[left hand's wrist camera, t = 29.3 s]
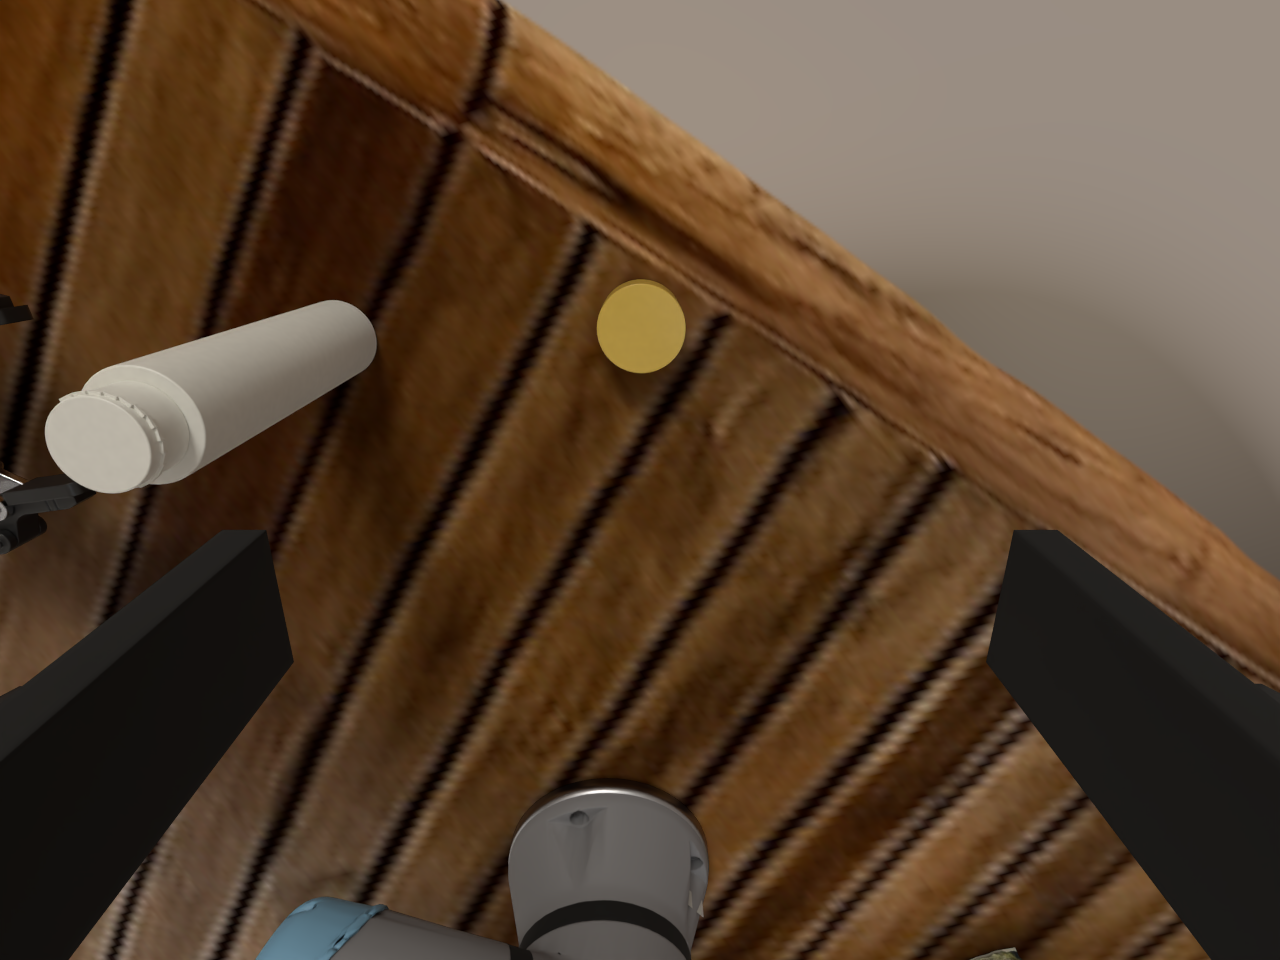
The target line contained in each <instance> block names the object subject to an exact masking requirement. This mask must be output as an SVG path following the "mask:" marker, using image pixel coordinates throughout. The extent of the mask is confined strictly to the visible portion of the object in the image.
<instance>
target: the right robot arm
mask: <svg viewBox="0 0 1280 960" xmlns="http://www.w3.org/2000/svg"><path fill="white" fill-rule="evenodd" d="M32 319H33V316H32V314H31V312H30V310H29V307H28V305H23V306H16V307H14V305H13V303H12V301H11V299H10V296H6V295H2V294H0V325H3V324H9V323H15V322H20V321H26V320H32ZM3 467H4V464H3V463H2V462H1V461H0V554H6V553H8V552H10V551H11V550H13V549H15V548H17V547H19V546H21V545H23V544H24V543H26V542H28V541H30V540H32V539H34V538H35V537H37V536H39V535H41V534H43V533H44V532H45V531H46V530H47V525H46V522H45V521H44V519H43V518H41V517H40V516H38V513H41V512H48V511H55V510H63V509H69V508H71V507H73V506H75V505H77V504H79V503H81V502H83V501H85V500H86V499H88V498H90V497H92V496H93V495H95V494H96V491H94V490H91V489H88V488H86V487H84V486H82V485H80V484H78V483H77V482H75V481H74V480H72V479H71V478H70V477H68V476H67V475H66V474H61V475H53V476H46V477H39V478H35V479H33V480H31V481H29V480H26V479H24V478H22V477H20V476H17V475H15V474H13V473H11V472H8V471H6V470H4V469H3Z"/></svg>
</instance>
